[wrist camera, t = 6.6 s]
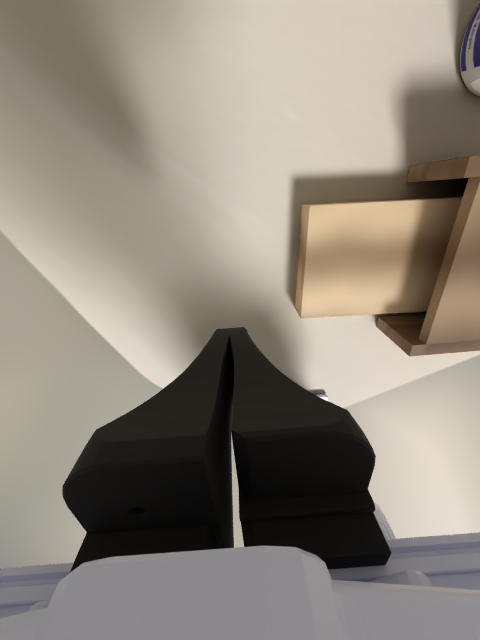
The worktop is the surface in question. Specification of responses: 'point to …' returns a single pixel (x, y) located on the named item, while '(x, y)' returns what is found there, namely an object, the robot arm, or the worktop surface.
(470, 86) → the energy drink
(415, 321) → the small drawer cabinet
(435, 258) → the board
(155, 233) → the worktop surface
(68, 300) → the worktop surface
